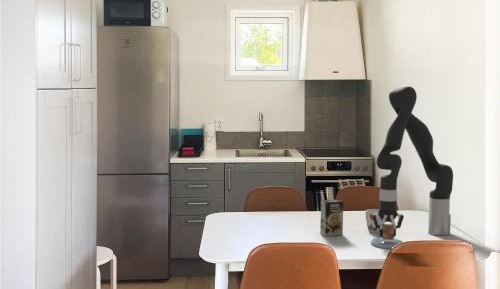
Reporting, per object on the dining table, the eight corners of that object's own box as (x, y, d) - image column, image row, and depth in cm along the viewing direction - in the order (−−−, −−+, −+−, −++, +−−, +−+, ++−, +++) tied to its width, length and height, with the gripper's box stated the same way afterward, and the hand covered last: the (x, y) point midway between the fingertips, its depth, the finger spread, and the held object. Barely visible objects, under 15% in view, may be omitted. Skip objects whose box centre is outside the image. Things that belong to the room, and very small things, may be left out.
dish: (400, 240, 255) (400, 237, 254) (406, 249, 241) (406, 246, 241) (368, 240, 255) (368, 237, 255) (373, 248, 241) (373, 245, 241)
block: (391, 237, 250) (391, 223, 249) (393, 239, 245) (393, 226, 245) (381, 236, 250) (381, 223, 250) (383, 239, 246) (383, 226, 245)
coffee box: (325, 236, 262) (325, 202, 260) (319, 233, 268) (320, 199, 267) (343, 235, 264) (343, 201, 263) (337, 231, 271) (337, 198, 269)
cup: (361, 230, 273) (362, 210, 272) (372, 228, 278) (372, 208, 277) (375, 234, 266) (375, 213, 265) (385, 231, 272) (386, 210, 271)
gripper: (402, 197, 249) (401, 235, 251) (370, 197, 250) (369, 234, 252) (406, 200, 242) (405, 239, 244) (373, 200, 243) (372, 239, 244)
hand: (387, 236), depth 248 cm, fingers closed on block, 4 cm apart
